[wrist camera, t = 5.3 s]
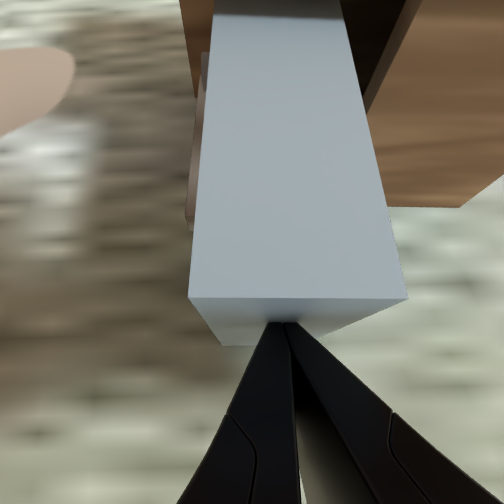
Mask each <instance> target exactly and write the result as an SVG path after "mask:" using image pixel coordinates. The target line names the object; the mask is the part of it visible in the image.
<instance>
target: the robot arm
mask: <svg viewBox="0 0 504 504" xmlns="http://www.w3.org/2000/svg"><path fill="white" fill-rule="evenodd" d="M392 413H393V410H392V409H391V408H390V407H389V406H388V405H387V404H386V403H385V402H384V401H382V400H381V399H380V398H379V397H378V396H377V395H376V394H375V393H374V392H373V391H372V390H370V389H369V388H368V387H367V386H366V385H365V384H364V383H363V382H362V381H361V380H360V379H359V378H357V377H356V376H355V375H354V374H353V373H352V372H351V371H350V370H349V369H348V368H347V367H345V366H344V365H343V364H342V363H341V362H340V361H339V360H338V359H337V358H336V357H335V356H333V355H332V354H331V353H330V352H329V351H328V350H327V349H326V348H325V347H324V346H323V345H321V344H320V343H319V342H318V341H317V340H316V339H315V338H314V337H313V336H312V335H311V334H310V333H308V332H307V331H306V330H305V329H304V328H303V327H302V326H301V325H300V324H299V323H297V322H284V323H283V324H282V323H281V322H268V323H267V324H266V326H265V328H264V331H263V333H262V335H261V337H260V339H259V342H258V344H257V346H256V348H255V350H254V353H253V355H252V357H251V359H250V361H249V363H248V366H247V368H246V370H245V372H244V374H243V377H242V379H241V381H240V383H239V385H238V388H237V390H236V392H235V394H234V396H233V398H232V401H231V403H230V405H229V407H228V409H227V412H226V415H225V416H224V418H223V420H222V422H221V424H220V426H219V429H218V431H217V433H216V435H215V437H214V439H213V441H212V443H211V445H210V447H209V449H208V451H207V453H206V455H205V456H204V458H203V460H202V461H201V463H200V465H199V467H198V468H197V470H196V472H195V474H194V475H193V477H192V479H191V481H190V482H189V484H188V485H187V487H186V489H185V490H184V492H183V494H182V495H181V497H180V498H179V500H178V502H177V503H176V504H301V489H300V475H299V469H300V474H301V478H302V483H303V487H304V492H305V497H306V501H307V504H504V503H502V502H501V501H500V500H499V499H497V498H496V497H495V496H494V495H492V494H491V493H490V492H489V491H487V490H486V489H485V488H484V487H482V486H481V485H480V484H479V483H477V482H476V481H475V480H474V479H472V478H471V477H470V476H469V475H467V474H466V473H465V472H464V471H463V470H461V469H460V468H459V467H458V466H456V465H455V464H454V463H453V462H452V461H450V460H449V459H448V458H447V457H446V456H444V455H443V454H442V453H441V452H439V451H438V450H437V449H436V448H435V447H434V446H432V445H431V444H430V443H429V442H428V441H427V440H426V439H425V438H423V437H422V436H421V435H420V434H419V433H418V432H417V431H415V430H414V429H413V428H412V427H411V426H410V425H409V424H408V423H407V422H406V421H404V420H403V419H402V418H401V417H400V416H399V415H398V414H397V413H395V412H394V413H393V414H392Z"/></svg>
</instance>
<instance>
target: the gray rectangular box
mask: <svg viewBox="0 0 504 504" xmlns="http://www.w3.org/2000/svg"><path fill="white" fill-rule="evenodd" d="M201 74H202V84H203V90H204V92H206V101H205V112H204V123H203V134H202V145H201V156H200V167H199V178H198V189H197V200H196V211H195V223H194V234H193V245H192V256H191V267H190V278H189V289H188V299H189V300H190V301H191V303H192V304H193V306H194V307H195V308H196V310H197V311H198V313H199V314H200V315H201V317H202V318H203V319H204V321H205V322H206V324H207V325H208V326H209V328H210V329H211V331H212V332H213V333H214V335H215V336H216V338H217V339H218V340H219V342H220V343H221V345H222V346H257V344H258V342H259V339H260V337H261V335H262V333H263V331H264V328H265V326H266V324H267V323H268V322H281V323H282V324H283V323H284V322H297V323H299V324H300V325H301V326H302V327H303V328H304V329H305V330H306V331H307V332H308V333H310V334H311V335H312V336H313V337H314V338H315V339H317V338H319V337H321V336H324V335H326V334H328V333H331V332H333V331H335V330H337V329H340V328H342V327H344V326H347V325H349V324H351V323H354V322H356V321H358V320H361V319H363V318H365V317H367V316H370V315H372V314H374V313H377V312H379V311H381V310H384V309H386V308H388V307H391V306H393V305H395V304H397V303H400V302H402V301H404V300H407V299H408V295H407V290H406V286H405V282H404V277H403V273H402V269H401V264H400V260H399V256H398V251H397V247H396V243H395V238H394V234H393V230H392V225H391V221H390V217H389V213H388V208H387V204H386V200H385V195H384V191H383V187H382V182H381V178H380V174H379V169H378V165H377V161H376V156H375V152H374V148H373V143H372V139H371V135H370V131H369V126H368V122H367V118H366V113H365V109H364V105H363V100H362V96H361V92H360V87H359V83H358V79H357V74H356V70H355V66H354V61H353V57H352V53H351V49H350V44H349V40H348V36H347V31H346V27H345V23H344V18H343V14H342V10H341V5H340V1H339V0H215V1H214V12H213V23H212V34H211V45H210V52H202V54H201Z"/></svg>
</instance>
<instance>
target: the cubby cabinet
mask: <svg viewBox="0 0 504 504" xmlns="http://www.w3.org/2000/svg"><path fill="white" fill-rule="evenodd" d="M214 1H215V0H179V2H180V8H181V15H182V21H183V27H184V33H185V39H186V45H187V51H188V57H189V63H190V69H191V75H192V81H193V87H194V93H195V98H197V107H196V116H195V126H194V135H193V144H192V154H191V163H190V172H189V182H188V191H187V200H186V210H185V218H186V220H187V223H188V226H189V229H190V231H194V223H195V211H196V200H197V189H198V178H199V167H200V156H201V145H202V134H203V123H204V112H205V101H206V92H204V90H203V84H202V74H201V54H202V52H210V45H211V34H212V23H213V12H214ZM339 1H340V5H341V10H342V14H343V18H344V23H345V27H346V31H347V36H348V40H349V44H350V49H351V53H352V57H353V61H354V66H355V70H356V74H357V79H358V83H359V87H360V92H361V96H362V100H363V105H364V109H365V113H366V118H367V122H368V126H369V131H370V135H371V139H372V143H373V148H374V152H375V156H376V161H377V165H378V169H379V174H380V178H381V182H382V187H383V191H384V195H385V200H386V204H387V206H391V207H447V208H459V207H461V206H462V205H463V204H465V203H466V202H467V201H469V200H470V199H471V198H473V197H474V196H475V195H477V194H478V193H479V192H481V191H482V190H483V189H485V188H486V187H487V186H489V185H490V184H491V183H493V182H494V181H495V180H497V179H498V178H499V177H501V176H502V175H503V174H504V0H339Z"/></svg>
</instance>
